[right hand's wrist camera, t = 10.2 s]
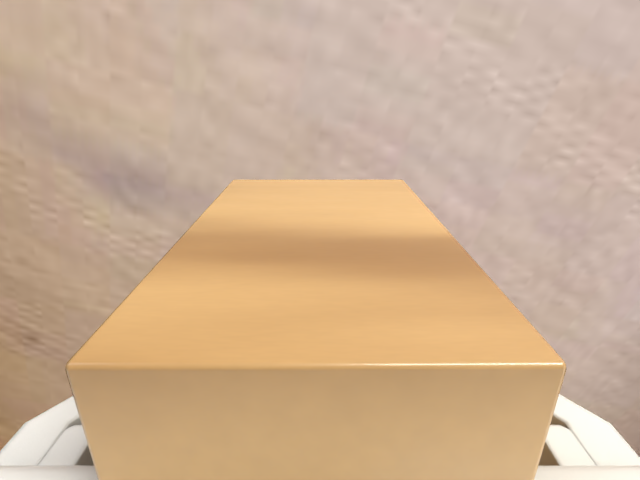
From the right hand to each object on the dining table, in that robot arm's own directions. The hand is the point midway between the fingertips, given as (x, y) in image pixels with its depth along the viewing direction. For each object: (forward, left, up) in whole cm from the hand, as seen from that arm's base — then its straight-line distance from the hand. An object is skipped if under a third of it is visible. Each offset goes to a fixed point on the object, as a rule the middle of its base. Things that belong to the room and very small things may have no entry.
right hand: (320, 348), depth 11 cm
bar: (-1, +10, -4) cm, 11 cm away
